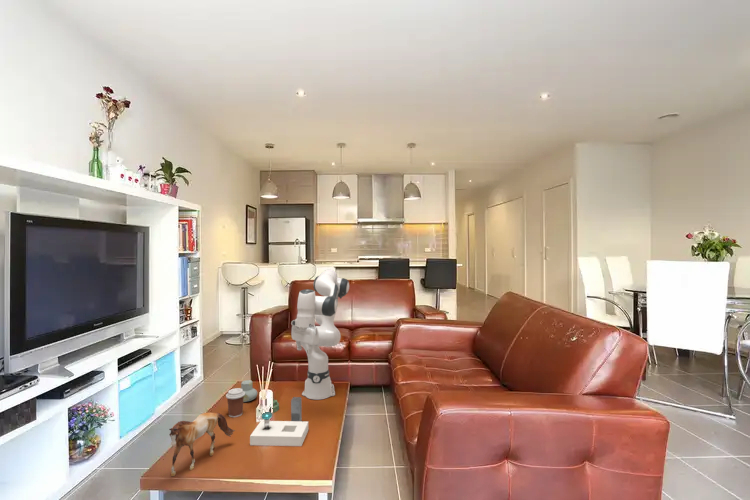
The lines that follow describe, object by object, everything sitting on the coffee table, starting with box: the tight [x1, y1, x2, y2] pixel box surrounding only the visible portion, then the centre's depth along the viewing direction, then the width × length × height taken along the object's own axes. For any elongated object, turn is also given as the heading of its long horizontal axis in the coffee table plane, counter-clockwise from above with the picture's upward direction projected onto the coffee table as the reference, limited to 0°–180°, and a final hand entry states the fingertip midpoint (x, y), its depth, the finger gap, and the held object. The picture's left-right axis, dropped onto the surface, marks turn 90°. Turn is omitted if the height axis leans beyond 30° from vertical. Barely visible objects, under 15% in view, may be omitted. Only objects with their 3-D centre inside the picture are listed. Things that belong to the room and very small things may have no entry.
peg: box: [290, 396, 303, 421], centre depth 183 cm, size 4×4×12 cm
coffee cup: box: [225, 387, 245, 418], centre depth 193 cm, size 9×9×12 cm
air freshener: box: [240, 379, 258, 403], centre depth 211 cm, size 11×8×10 cm
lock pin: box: [261, 412, 273, 430], centre depth 170 cm, size 4×4×6 cm
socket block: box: [249, 420, 309, 447], centre depth 170 cm, size 14×22×4 cm, turn 88°
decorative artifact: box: [272, 398, 280, 414], centre depth 198 cm, size 10×7×10 cm
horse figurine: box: [169, 412, 236, 477], centre depth 152 cm, size 31×8×21 cm, turn 158°
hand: (304, 351), depth 186 cm, fingers open, 8 cm apart
